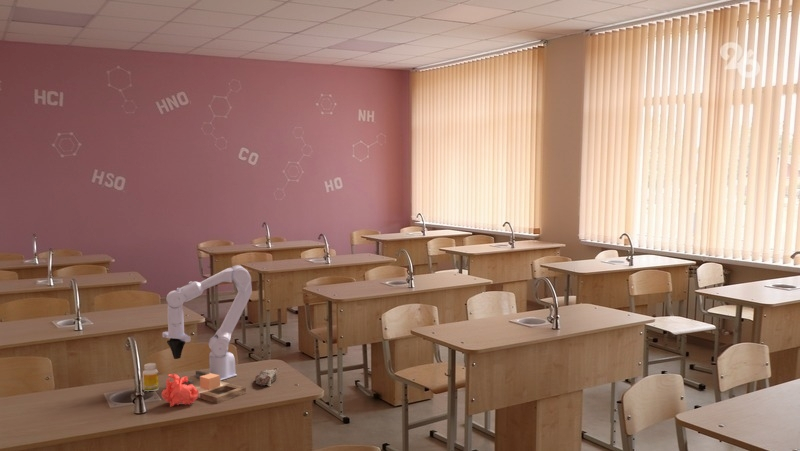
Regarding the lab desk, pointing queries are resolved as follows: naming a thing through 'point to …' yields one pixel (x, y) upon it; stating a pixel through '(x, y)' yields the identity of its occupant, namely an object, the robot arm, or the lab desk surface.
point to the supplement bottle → (150, 377)
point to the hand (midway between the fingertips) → (177, 358)
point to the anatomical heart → (179, 391)
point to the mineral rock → (266, 377)
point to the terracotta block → (209, 381)
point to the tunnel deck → (215, 389)
